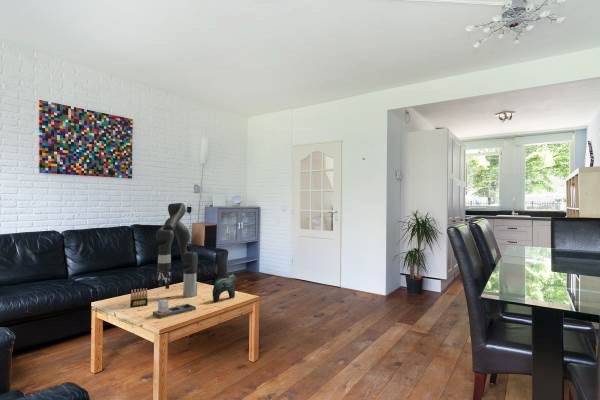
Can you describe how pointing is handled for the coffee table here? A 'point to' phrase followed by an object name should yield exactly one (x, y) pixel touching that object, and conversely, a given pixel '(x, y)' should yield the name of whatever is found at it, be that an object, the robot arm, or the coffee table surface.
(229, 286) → the dark green animal figure
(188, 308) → the grey peg board
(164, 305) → the grey metal block
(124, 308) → the coffee table surface
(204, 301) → the coffee table surface
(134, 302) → the ammunition clip
